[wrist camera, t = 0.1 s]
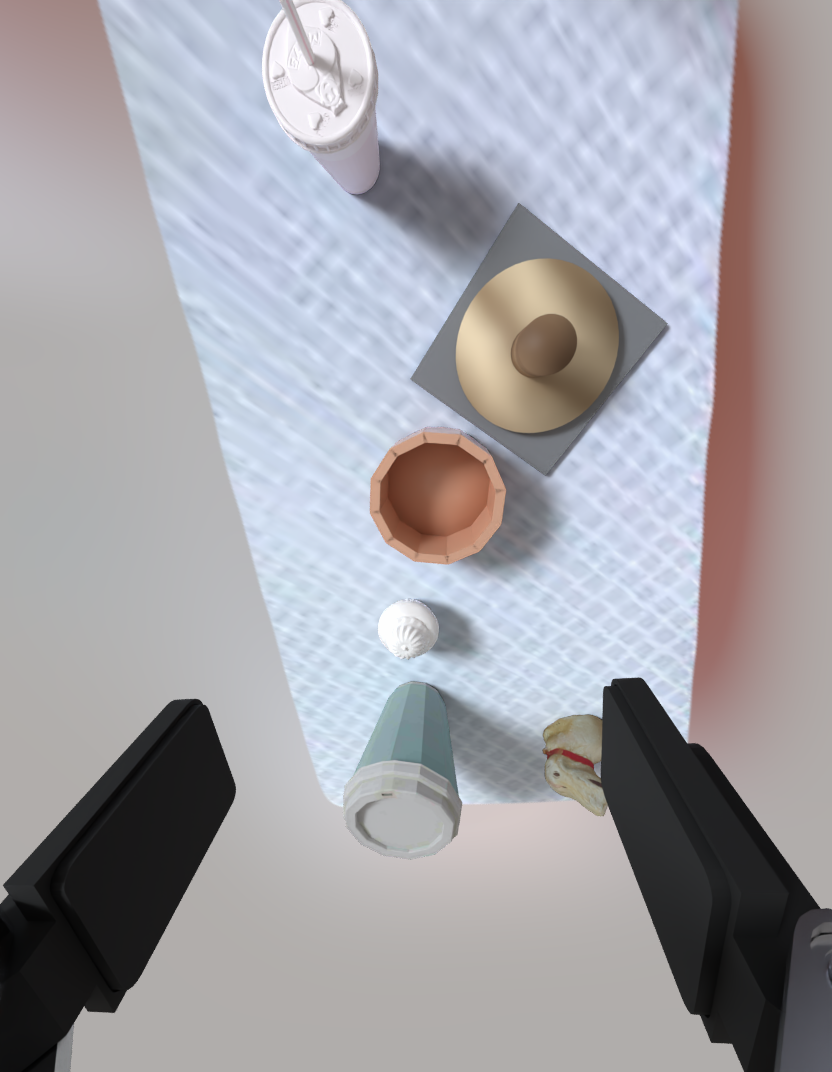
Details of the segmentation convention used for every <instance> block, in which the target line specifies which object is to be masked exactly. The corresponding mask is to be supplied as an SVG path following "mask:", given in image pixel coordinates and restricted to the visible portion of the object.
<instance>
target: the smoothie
mask: <svg viewBox="0 0 832 1072" xmlns="http://www.w3.org/2000/svg"><path fill="white" fill-rule="evenodd" d="M279 1H280V3H281V6H282V8H283V9H282V10H281V11H280V12H279V14H278V15H277V16H276V18H275V19H274V21H273V23H272V25H271V27H270V29H269V32H268V34H267V37H266V41H265V45H264V50H263V59H262V74H263V82H264V88H265V92H266V95H267V99H268V101H269V104H270V106H271V108H272V110H273V112H274V114H275V116H276V118H277V120H278V122H279V124H280V126H281V128H282V129H283V130H284V131H285V133H286V134H287V135H288V136H289V138H290V139H291V140H292V141H293V142H295V143H296V144H298V145H299V146H300V147H302V148H303V149H305V150H308V151H309V152H310V153H311V154H312V155H313V156H314V157H315V158H316V160H317V161H318V162H319V163H320V164H321V165H322V166H323V167H324V169H325V170H326V171H327V172H328V173H329V174H330V175H331V176H332V177H333V179H334V180H335V181H336V182H337V183H338V184H339V185H340V186H341V187H342V188H343V189H344V190H345V191H347V192H348V193H351V194H362V193H365V192H367V191H368V190H370V189H371V188H372V187H373V185H374V184H375V182H376V180H377V178H378V175H379V171H380V158H379V146H378V134H377V122H376V110H375V105H376V101H377V96H378V70H377V65H376V59H375V54H374V52H373V49H372V47H371V43H370V40H369V37H368V34H367V32H366V30H365V28H364V26H363V24H362V22H361V21H360V19H359V18H358V16H357V15H356V14H355V12H354V11H353V10H352V9H351V8H350V7H349V6H348V5H346V4H345V3H344V2H342V1H341V0H279Z"/></svg>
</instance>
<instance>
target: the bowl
mask: <svg viewBox="0 0 832 1072" xmlns="http://www.w3.org/2000/svg"><path fill="white" fill-rule="evenodd" d="M505 494H506V488H505V486H504V483H503V481H502V479H501V476H500V474H499V472H498V469H497V467H496V465H495V462H494V460H493V458H492V456H491V454H490V453H489V451H488V450H487V448H486V447H484V446H483V445H481V444H480V443H479V442H477V441H476V440H475V439H474V438H472V437H471V436H469V435H468V434H466V433H464V432H463V431H462V430H460V429H452V428H446V427H425V428H423V429H421V430H419V431H417V432H415V433H412V434H411V435H409V436H407V437H405V438H403V439H401V440H399V441H398V442H397V443H395V444H394V445H393V446H392V447H391V448H390V449H389V451H388V452H387V454H386V456H385V457H384V459H383V460H382V462H381V463H380V465H379V467H378V468H377V470H376V471H375V473H374V474H373V476H372V478H371V490H370V514H371V516H372V518H373V520H374V522H375V524H376V525H377V527H378V529H379V531H380V533H381V535H382V537H383V538H384V540H385V542H386V543H387V544H388V545H390V546H391V547H393V548H394V549H396V550H398V551H399V552H401V553H402V554H404V555H405V556H407V557H408V558H410V559H411V560H413V561H415V562H426V563H437V564H451V563H453V562H455V561H458V560H460V559H463V558H465V557H467V556H470V555H472V554H475V553H477V552H479V551H480V550H481V549H482V548H483V547H484V545H485V544H486V543H487V542H488V540H489V539H490V538H491V537H492V535H493V534H494V533H495V532H496V530H497V529H498V528H499V527H500V525H501V522H502V515H503V508H504V501H505Z"/></svg>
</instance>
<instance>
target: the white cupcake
mask: <svg viewBox="0 0 832 1072" xmlns="http://www.w3.org/2000/svg"><path fill="white" fill-rule="evenodd" d="M378 634H379V638H380V640H381V642H382V643H383V645H384V646H385V647H386V648H387V649H388V650H389V651H390V652H392V653H393V654H394V656H396V657H400V658H401V659H404V658H406V659H408V660H409V659H410V657H412V658H415V657H416V656H420V655H422V654H424V653H426V652H427V651H429V650H430V649H431V648H432V647H433V646H434V644H435V643H436V641H437V638H438V634H439V624H438V620H437V618H436V616H435V615H434V613H433V612H432V611H431V609H430V608H428V607H427V605H425V604H423V603H422V602H420V601H419V600H418V601H417V600H416V599H415V600H414V599H403V600H400V601H397V602H396V603H393V604H392V605H390V606H389V607H388V608H387V609H386V610H385V611H384V612H383V614H382V615H381V617H380V620H379V624H378Z"/></svg>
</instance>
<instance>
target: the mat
mask: <svg viewBox="0 0 832 1072" xmlns="http://www.w3.org/2000/svg"><path fill="white" fill-rule="evenodd" d="M547 258H550V259H558V260H563V261H566V262H570V263H573V264H575V265H577V266H579V267H581V268H583V269H584V270H586V271H587V272H589V273H590V274H591V275H592V276H593V277H594V278H595V279H597V280H598V281H599V283H600V284H601V285H602V286H603V288H604V289H605V290H606V292H607V294H608V296H609V297H610V299H611V301H612V304H613V307H614V309H615V312H616V317H617V321H618V329H619V346H618V352H617V358H616V361H615V365H614V368H613V371H612V373H611V376H610V378H609V380H608V382H607V384H606V386H605V387H604V389H603V391H602V392H601V393H600V395H599V396H598V398H597V399H596V400H595V401H594V402H593V403H592V405H591V406H590V407H589V408H588V409H586V410H585V411H584V412H583V413H582V414H581V415H579V416H578V417H576V418H575V419H574V420H572V421H570V422H568V423H566V424H565V425H563V426H560V427H558V428H555V429H552V430H548V431H544V432H537V433H521V432H514V431H510V430H507V429H504V428H501V427H499V426H497V425H495V424H493V423H492V422H490V421H488V420H487V419H486V418H484V417H483V416H482V415H481V414H479V413H478V411H477V410H476V409H475V408H474V407H473V406H472V405H471V403H470V402H469V400H468V399H467V397H466V395H465V393H464V391H463V389H462V387H461V384H460V381H459V377H458V373H457V367H456V345H457V338H458V333H459V329H460V326H461V323H462V320H463V318H464V315H465V313H466V311H467V309H468V307H469V305H470V304H471V302H472V301H473V299H474V298H475V296H476V295H477V294H478V292H479V291H480V290H481V289H482V288H483V287H484V286H485V285H486V284H487V283H488V282H489V281H490V280H491V279H492V278H494V277H495V276H496V275H498V274H499V273H501V272H502V271H504V270H505V269H507V268H509V267H511V266H513V265H515V264H518V263H521V262H524V261H528V260H534V259H547ZM667 324H668V323H666V322H665V321H664V320H663V319H662V318H660V317H659V316H658V315H657V314H655V313H654V312H653V311H652V310H650V309H649V308H648V307H647V306H646V305H644V304H643V303H642V302H641V301H639V300H638V299H637V298H636V297H634V296H633V295H632V294H631V293H629V292H628V291H627V290H626V289H625V288H623V287H622V286H621V285H620V284H618V283H617V282H616V281H615V280H613V279H612V278H611V277H610V276H608V275H607V274H606V273H605V272H604V271H602V270H601V269H600V268H599V267H597V266H596V265H595V264H594V263H592V262H591V261H590V260H589V259H588V258H586V257H585V256H584V255H583V254H581V253H580V252H579V251H578V250H576V249H575V248H574V247H573V246H571V245H570V244H569V243H568V242H567V241H565V240H564V239H563V238H562V237H560V236H559V235H558V234H557V233H555V232H554V231H553V230H552V229H551V228H549V227H548V226H547V225H546V224H544V223H543V222H542V221H541V220H539V219H538V218H537V217H536V216H534V215H533V214H532V213H531V212H530V211H528V210H527V209H526V208H525V207H523V206H522V205H521V204H520V203H518V205H517V207H516V208H515V210H514V211H513V213H512V215H511V216H510V218H509V220H508V221H507V223H506V224H505V226H504V228H503V229H502V231H501V233H500V234H499V236H498V237H497V239H496V241H495V242H494V244H493V246H492V247H491V249H490V250H489V252H488V254H487V255H486V257H485V259H484V260H483V262H482V263H481V265H480V267H479V268H478V270H477V272H476V273H475V275H474V276H473V278H472V280H471V281H470V283H469V285H468V286H467V288H466V289H465V291H464V293H463V294H462V296H461V298H460V299H459V301H458V302H457V304H456V306H455V307H454V309H453V311H452V312H451V314H450V315H449V317H448V319H447V320H446V322H445V324H444V325H443V327H442V328H441V330H440V332H439V333H438V335H437V337H436V338H435V340H434V342H433V343H432V345H431V346H430V348H429V350H428V351H427V353H426V355H425V356H424V358H423V359H422V361H421V363H420V364H419V366H418V368H417V369H416V371H415V372H414V374H413V376H412V377H411V380H412V381H413V382H415V383H416V384H418V385H419V386H420V387H422V388H423V389H425V390H426V391H427V392H429V393H430V394H432V395H433V396H434V397H436V398H437V399H439V400H440V401H441V402H443V403H444V404H446V405H447V406H448V407H450V408H451V409H453V410H454V411H455V412H457V413H458V414H460V415H461V416H462V417H464V418H465V419H467V420H468V421H469V422H471V423H472V424H474V425H475V426H476V427H478V428H479V429H481V430H482V431H483V432H485V433H486V434H488V435H489V436H490V437H492V438H493V439H495V440H496V441H497V442H499V443H500V444H502V445H503V446H504V447H506V448H507V449H509V450H510V451H511V452H513V453H514V454H516V455H517V456H518V457H520V458H521V459H523V460H524V461H525V462H527V463H528V464H530V465H531V466H532V467H534V468H535V469H537V470H538V471H539V472H541V473H542V474H544V475H545V476H546V474H547V473H548V472H549V471H550V469H551V468H552V467H553V466H554V464H555V463H556V462H557V461H558V459H559V458H560V457H561V456H562V454H563V453H564V452H565V451H566V449H567V448H568V447H569V446H570V444H571V443H572V442H573V441H574V439H575V438H576V437H577V436H578V434H579V433H580V432H581V431H582V429H583V428H584V427H585V426H586V424H587V423H588V422H589V421H590V420H591V418H592V417H593V416H594V415H595V413H596V412H597V411H598V410H599V408H600V407H601V406H602V405H603V403H604V402H605V401H606V400H607V398H608V397H609V396H610V395H611V393H612V392H613V391H614V390H615V388H616V387H617V386H618V385H619V383H620V382H621V381H622V380H623V378H624V377H625V376H626V375H627V373H628V372H629V371H630V370H631V368H632V367H633V366H634V365H635V363H636V362H637V361H638V360H639V358H640V357H641V356H642V355H643V353H644V352H645V351H646V350H647V348H648V347H649V346H650V345H651V343H652V342H653V341H654V340H655V339H656V337H657V336H658V335H659V334H660V332H661V331H662V330H663V329H664V327H665V326H666V325H667Z"/></svg>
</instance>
